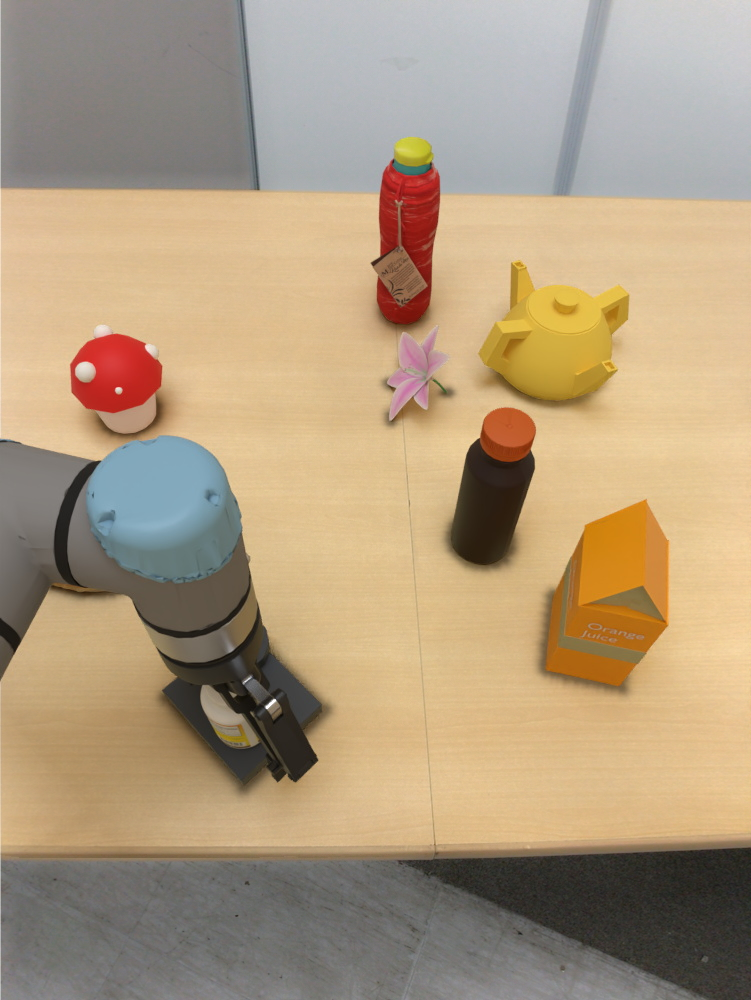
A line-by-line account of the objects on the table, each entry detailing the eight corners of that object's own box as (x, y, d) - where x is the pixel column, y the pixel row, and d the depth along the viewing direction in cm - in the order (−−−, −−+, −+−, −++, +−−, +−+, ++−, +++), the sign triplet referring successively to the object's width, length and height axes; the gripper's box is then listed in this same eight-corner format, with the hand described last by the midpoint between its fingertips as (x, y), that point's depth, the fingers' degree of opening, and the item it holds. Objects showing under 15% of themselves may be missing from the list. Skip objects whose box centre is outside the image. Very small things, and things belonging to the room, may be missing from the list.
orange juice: (623, 610, 80) (692, 506, 63) (620, 687, 75) (694, 596, 58) (551, 595, 81) (600, 488, 64) (543, 670, 76) (594, 576, 59)
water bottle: (414, 354, 101) (428, 186, 80) (359, 339, 102) (359, 171, 82) (439, 298, 108) (458, 130, 87) (387, 285, 109) (394, 117, 88)
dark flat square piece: (159, 689, 74) (151, 676, 71) (245, 618, 78) (241, 603, 76) (243, 786, 69) (238, 776, 66) (330, 703, 73) (329, 691, 70)
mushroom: (144, 370, 98) (121, 299, 88) (192, 417, 94) (172, 348, 84) (72, 411, 94) (39, 340, 84) (118, 462, 90) (89, 394, 80)
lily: (407, 356, 102) (376, 317, 94) (487, 354, 96) (460, 312, 88) (386, 434, 99) (352, 401, 91) (467, 438, 93) (438, 402, 85)
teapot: (469, 390, 97) (482, 321, 88) (502, 310, 106) (517, 239, 97) (596, 426, 94) (624, 358, 85) (618, 341, 103) (646, 270, 93)
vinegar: (440, 525, 85) (460, 410, 69) (492, 507, 87) (524, 391, 70) (466, 573, 82) (493, 464, 65) (520, 554, 83) (560, 443, 67)
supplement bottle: (263, 684, 72) (251, 641, 64) (281, 737, 69) (270, 700, 61) (207, 705, 71) (187, 664, 63) (223, 760, 68) (204, 725, 60)
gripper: (365, 698, 48) (361, 785, 66) (146, 482, 57) (194, 610, 75) (277, 783, 45) (298, 851, 62) (60, 540, 54) (132, 659, 72)
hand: (241, 719), depth 69 cm, fingers open, 12 cm apart
